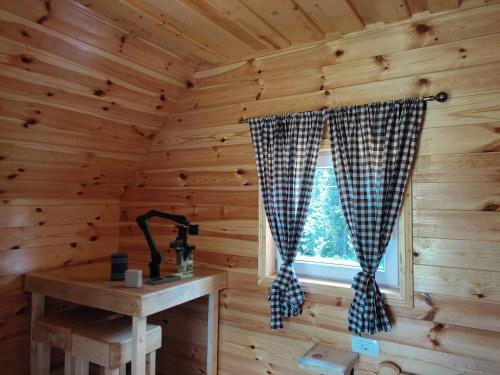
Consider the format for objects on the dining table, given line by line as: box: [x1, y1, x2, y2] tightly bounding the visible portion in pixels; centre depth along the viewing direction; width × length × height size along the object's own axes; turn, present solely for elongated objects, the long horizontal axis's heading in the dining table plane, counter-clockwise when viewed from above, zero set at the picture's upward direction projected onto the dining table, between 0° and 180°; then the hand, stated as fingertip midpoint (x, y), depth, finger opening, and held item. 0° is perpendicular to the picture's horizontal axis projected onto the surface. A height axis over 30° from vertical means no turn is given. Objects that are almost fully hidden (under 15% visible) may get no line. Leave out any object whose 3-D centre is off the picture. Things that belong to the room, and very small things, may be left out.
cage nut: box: [175, 251, 188, 266], centre depth 225 cm, size 5×5×8 cm
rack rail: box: [145, 273, 182, 286], centre depth 212 cm, size 9×18×2 cm, turn 139°
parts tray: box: [171, 272, 194, 280], centre depth 225 cm, size 9×9×2 cm
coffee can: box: [176, 248, 194, 273], centre depth 242 cm, size 10×10×14 cm
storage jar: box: [110, 252, 129, 282], centre depth 216 cm, size 10×10×15 cm
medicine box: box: [124, 269, 143, 288], centre depth 200 cm, size 8×4×9 cm, turn 75°
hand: (182, 260), depth 225 cm, fingers closed on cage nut, 5 cm apart
